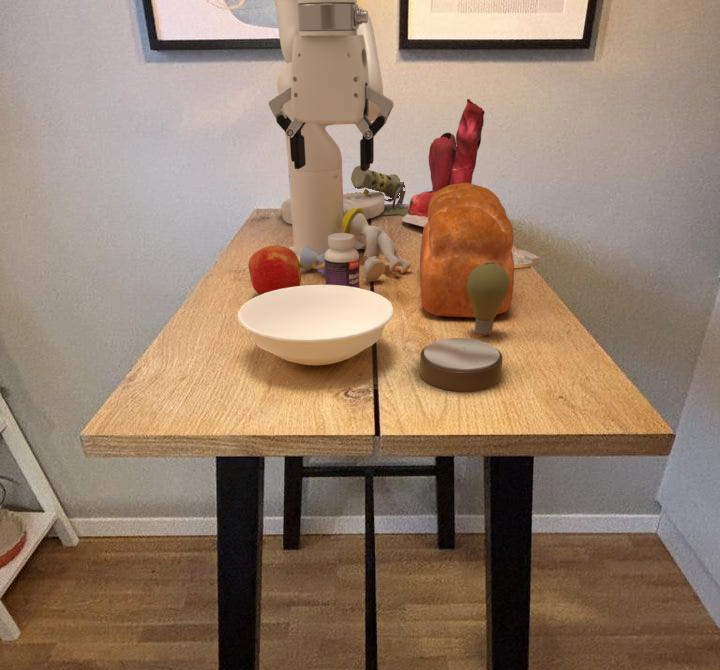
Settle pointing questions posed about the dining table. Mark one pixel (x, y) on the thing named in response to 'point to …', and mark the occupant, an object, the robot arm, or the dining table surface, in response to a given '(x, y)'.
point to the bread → (462, 247)
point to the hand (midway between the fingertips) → (332, 168)
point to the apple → (274, 269)
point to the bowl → (316, 322)
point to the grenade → (379, 184)
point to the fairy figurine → (311, 259)
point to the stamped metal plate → (524, 259)
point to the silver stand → (461, 364)
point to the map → (397, 211)
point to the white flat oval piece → (348, 205)
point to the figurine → (373, 245)
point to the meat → (450, 161)
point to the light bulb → (487, 294)
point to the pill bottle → (341, 261)
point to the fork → (359, 245)
